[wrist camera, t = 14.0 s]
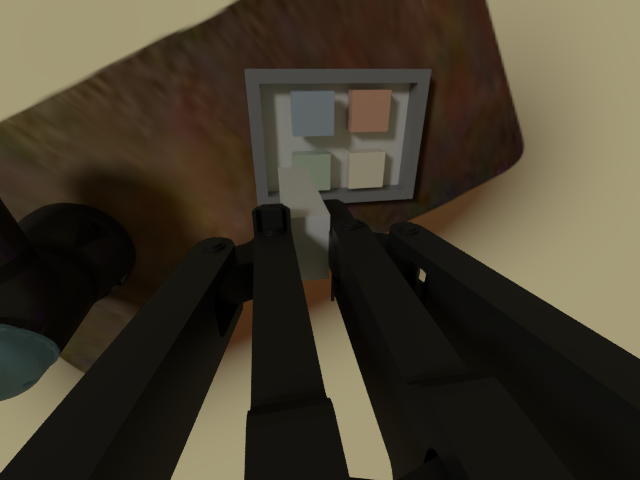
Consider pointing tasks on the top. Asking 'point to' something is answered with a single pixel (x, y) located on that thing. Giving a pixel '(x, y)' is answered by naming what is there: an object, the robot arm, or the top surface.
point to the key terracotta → (368, 110)
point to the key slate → (312, 112)
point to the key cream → (364, 168)
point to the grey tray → (337, 128)
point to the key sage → (315, 166)
